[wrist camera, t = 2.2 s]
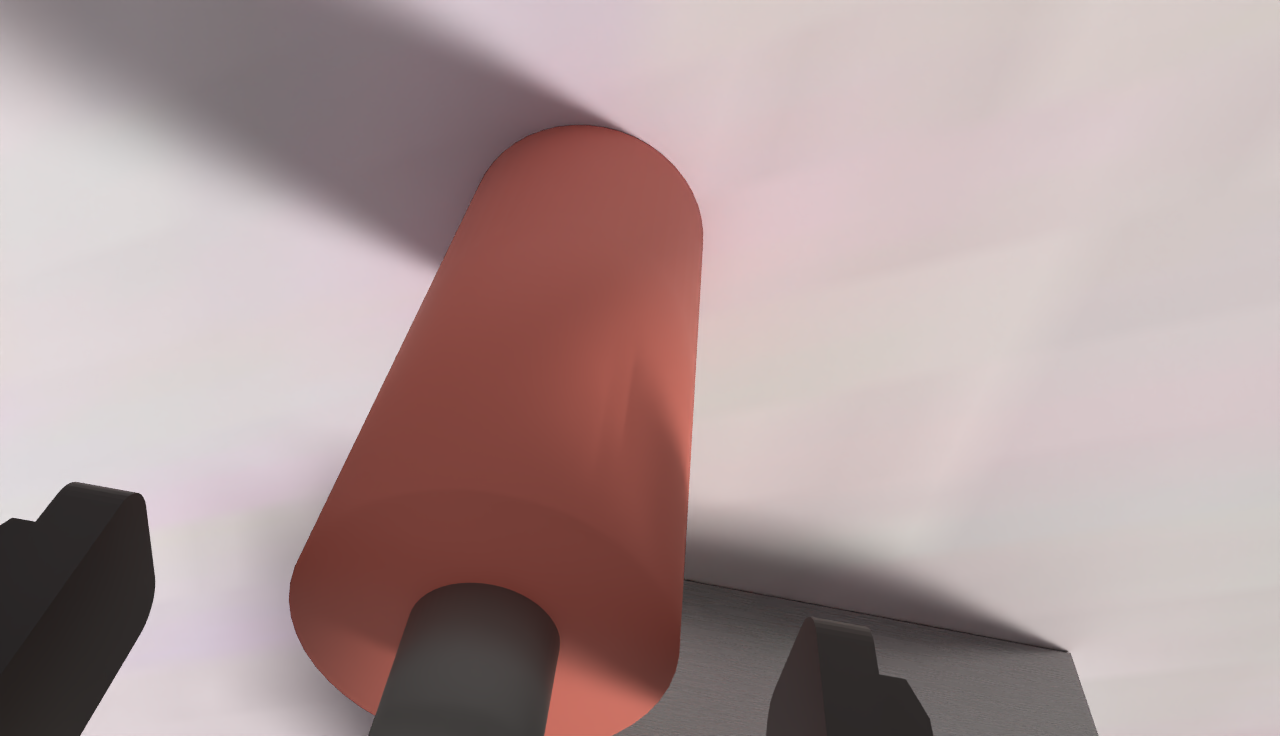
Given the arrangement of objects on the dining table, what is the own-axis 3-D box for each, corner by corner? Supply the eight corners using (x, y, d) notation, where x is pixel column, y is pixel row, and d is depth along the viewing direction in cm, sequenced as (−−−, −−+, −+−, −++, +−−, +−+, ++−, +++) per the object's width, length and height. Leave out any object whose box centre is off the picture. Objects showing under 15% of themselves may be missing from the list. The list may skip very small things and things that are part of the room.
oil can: (483, 101, 19) (221, 566, 9) (727, 153, 19) (717, 657, 9) (461, 309, 21) (242, 834, 12) (676, 351, 21) (629, 902, 12)
